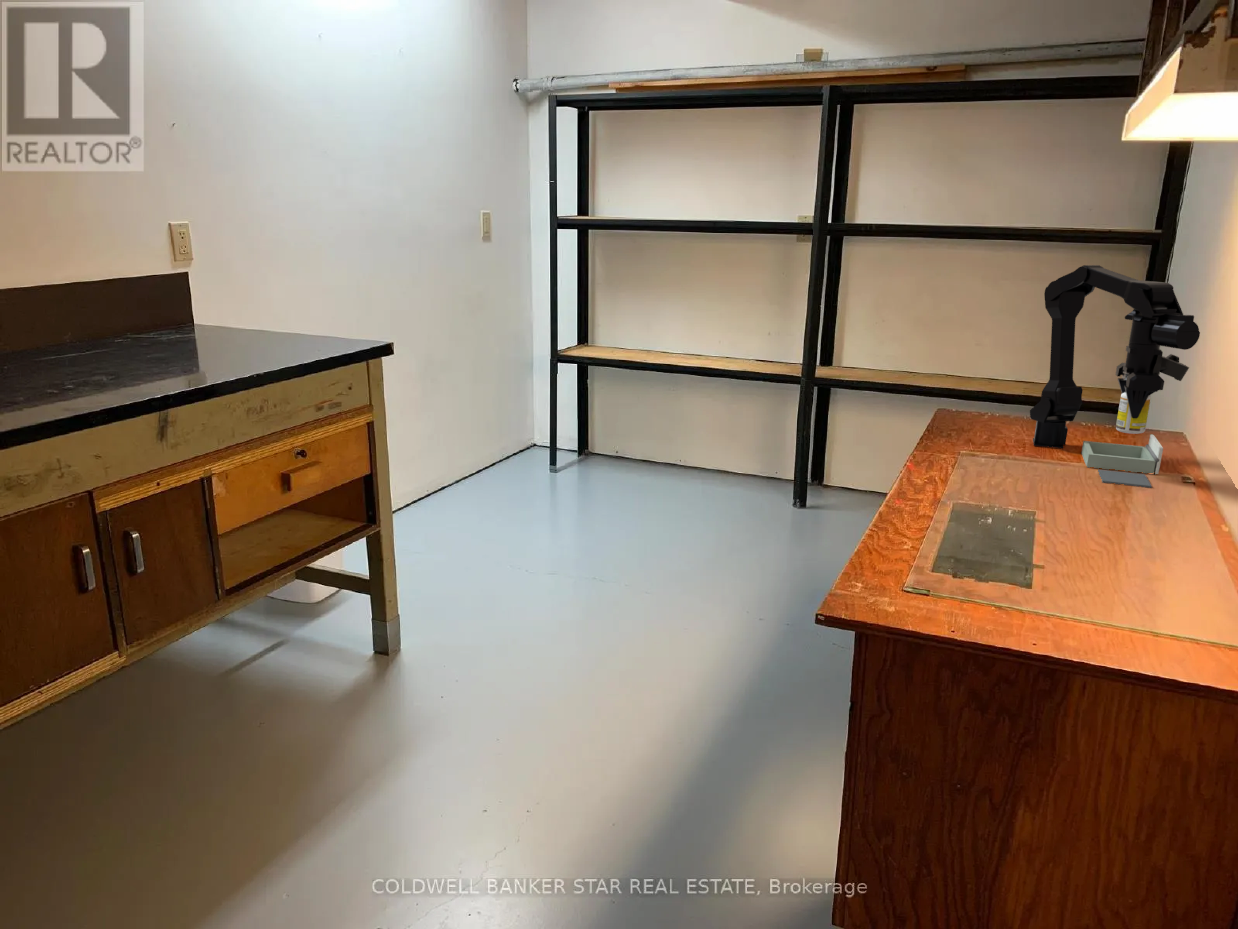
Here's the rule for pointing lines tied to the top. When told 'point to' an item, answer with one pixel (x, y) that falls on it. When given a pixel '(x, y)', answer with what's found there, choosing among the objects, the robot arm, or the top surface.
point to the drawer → (1123, 456)
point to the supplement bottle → (1126, 421)
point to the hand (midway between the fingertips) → (1132, 415)
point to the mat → (1124, 478)
